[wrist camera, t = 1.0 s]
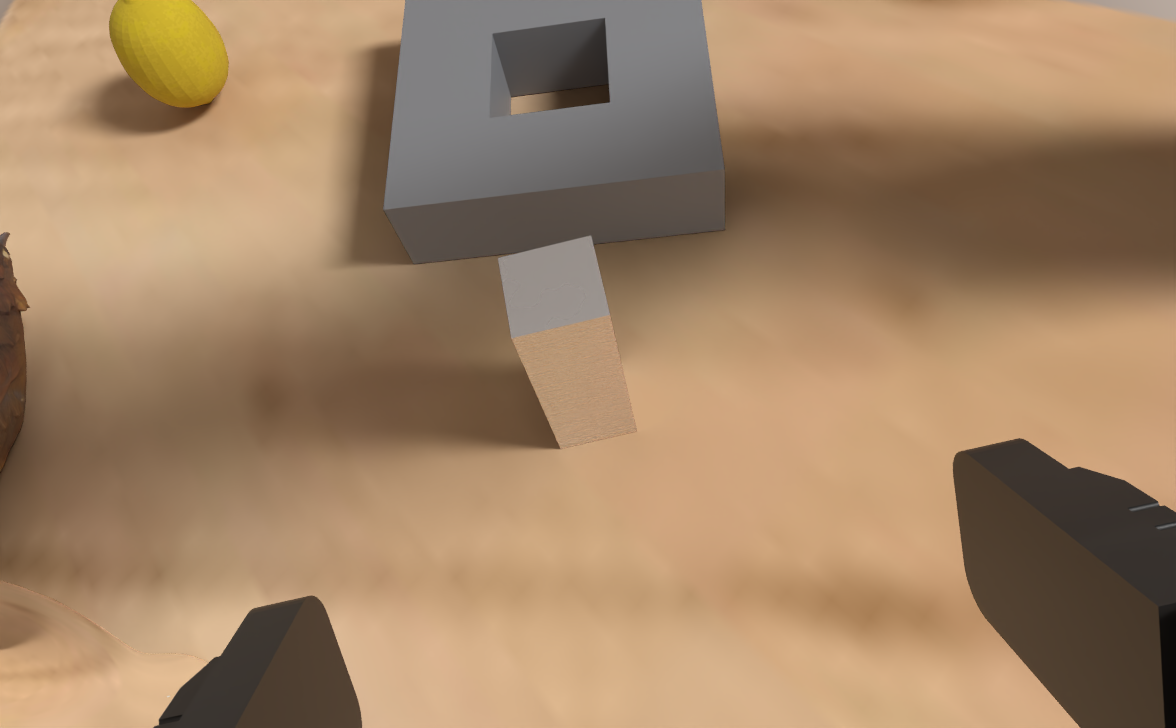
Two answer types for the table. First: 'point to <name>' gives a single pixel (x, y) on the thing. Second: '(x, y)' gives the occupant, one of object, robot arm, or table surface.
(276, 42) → the table surface
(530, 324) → the steel bar
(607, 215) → the well block
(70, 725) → the beer glass
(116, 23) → the lemon
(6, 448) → the bird sculpture
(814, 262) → the table surface
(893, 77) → the table surface
